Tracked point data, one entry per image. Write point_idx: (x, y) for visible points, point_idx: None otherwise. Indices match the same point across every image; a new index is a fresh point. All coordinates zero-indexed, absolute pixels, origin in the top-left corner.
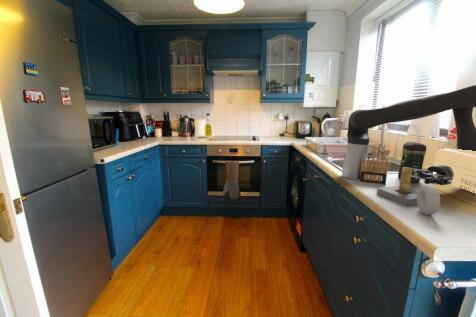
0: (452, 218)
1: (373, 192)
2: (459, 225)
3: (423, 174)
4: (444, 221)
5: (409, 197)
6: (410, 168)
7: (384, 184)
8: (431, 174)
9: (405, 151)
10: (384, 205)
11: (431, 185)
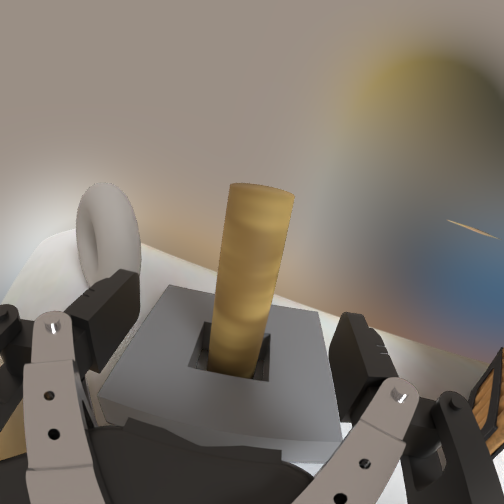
0: (37, 308)
1: (330, 341)
2: (33, 282)
3: (232, 455)
4: (62, 282)
5: (174, 304)
6: (246, 189)
7: (443, 472)
8: (111, 461)
9: None
10: (216, 280)
11: (103, 183)
